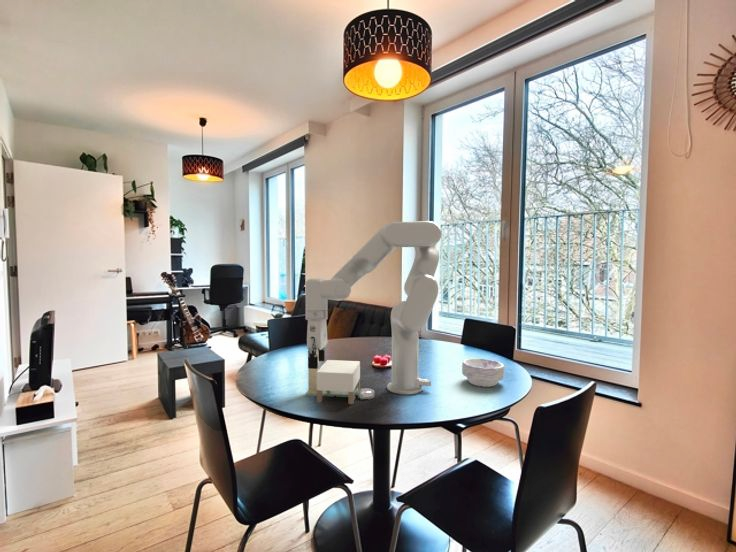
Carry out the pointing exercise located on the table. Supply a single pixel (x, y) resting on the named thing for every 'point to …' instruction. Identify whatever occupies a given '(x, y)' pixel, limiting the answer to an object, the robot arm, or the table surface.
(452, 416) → the table surface
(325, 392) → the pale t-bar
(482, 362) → the paper bowls
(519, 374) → the table surface
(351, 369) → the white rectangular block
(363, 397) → the silver dome
